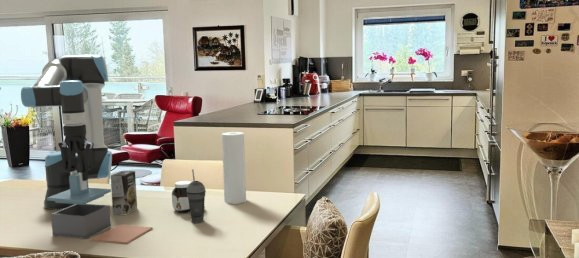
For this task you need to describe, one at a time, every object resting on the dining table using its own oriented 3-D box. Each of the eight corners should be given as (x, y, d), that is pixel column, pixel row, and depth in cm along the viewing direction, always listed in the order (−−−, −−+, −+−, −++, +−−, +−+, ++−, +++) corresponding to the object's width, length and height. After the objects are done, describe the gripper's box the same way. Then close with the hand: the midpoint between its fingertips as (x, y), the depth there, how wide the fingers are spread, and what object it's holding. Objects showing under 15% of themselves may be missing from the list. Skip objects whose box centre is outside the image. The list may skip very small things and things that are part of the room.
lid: (47, 203, 181) (45, 178, 180) (76, 192, 195) (75, 168, 194) (83, 206, 176) (81, 180, 175) (111, 194, 191) (109, 170, 190)
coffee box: (127, 215, 206) (124, 175, 203) (112, 214, 207) (109, 175, 205) (138, 208, 214) (135, 170, 212) (123, 208, 216) (121, 170, 214)
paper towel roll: (220, 202, 221) (217, 133, 217) (230, 197, 229) (228, 130, 226) (239, 204, 217) (237, 134, 213) (249, 198, 226) (247, 131, 222)
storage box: (52, 235, 183) (50, 213, 181) (79, 223, 196) (77, 203, 195) (86, 238, 178) (84, 216, 177) (110, 226, 192) (109, 205, 191)
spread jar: (169, 210, 211) (168, 182, 209) (192, 204, 219) (190, 177, 218) (187, 216, 203) (185, 187, 201) (209, 209, 211) (208, 181, 210)
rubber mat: (91, 240, 177) (91, 238, 177) (119, 226, 192) (119, 224, 192) (126, 243, 173) (126, 242, 173) (152, 228, 188) (152, 227, 188)
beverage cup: (198, 225, 191) (195, 172, 188) (183, 222, 195) (181, 170, 192) (211, 219, 197) (208, 168, 194) (196, 217, 201) (194, 166, 198)
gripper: (47, 125, 181) (53, 190, 184) (86, 126, 176) (91, 193, 179) (62, 122, 188) (68, 185, 191) (100, 123, 183) (105, 187, 187)
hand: (79, 189), depth 185 cm, fingers closed on lid, 3 cm apart
